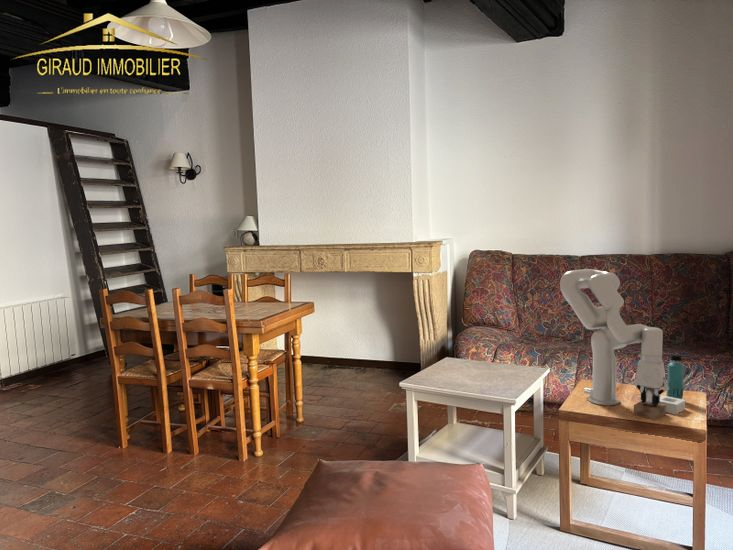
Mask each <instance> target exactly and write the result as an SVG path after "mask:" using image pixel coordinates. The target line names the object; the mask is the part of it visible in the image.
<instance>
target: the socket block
mask: <svg viewBox="0 0 733 550" xmlns="http://www.w3.org/2000/svg"><path fill="white" fill-rule="evenodd" d="M665 414H666V415H667V412H666V405H665V404H660V403H658V405H656V406H655V407H649V406H645V402H644V403H642V400H641V401H639V402H637V403H635V404H633V415H634V416H637V415H638V417H642V416H643V418H646V417H648V418H647V419H652V420H656V421H657V420H659V419H660V418H662V417H664V416H665Z"/></svg>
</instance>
